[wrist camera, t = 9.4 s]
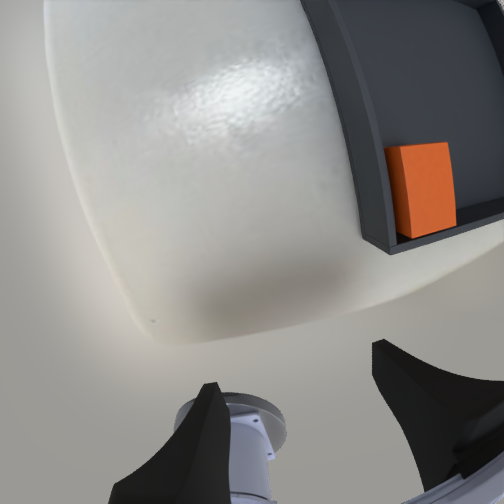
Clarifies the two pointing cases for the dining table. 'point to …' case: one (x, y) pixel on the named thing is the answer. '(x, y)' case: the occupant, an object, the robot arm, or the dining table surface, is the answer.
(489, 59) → the bin
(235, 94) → the dining table surface
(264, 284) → the dining table surface
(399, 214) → the orange block
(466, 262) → the dining table surface
